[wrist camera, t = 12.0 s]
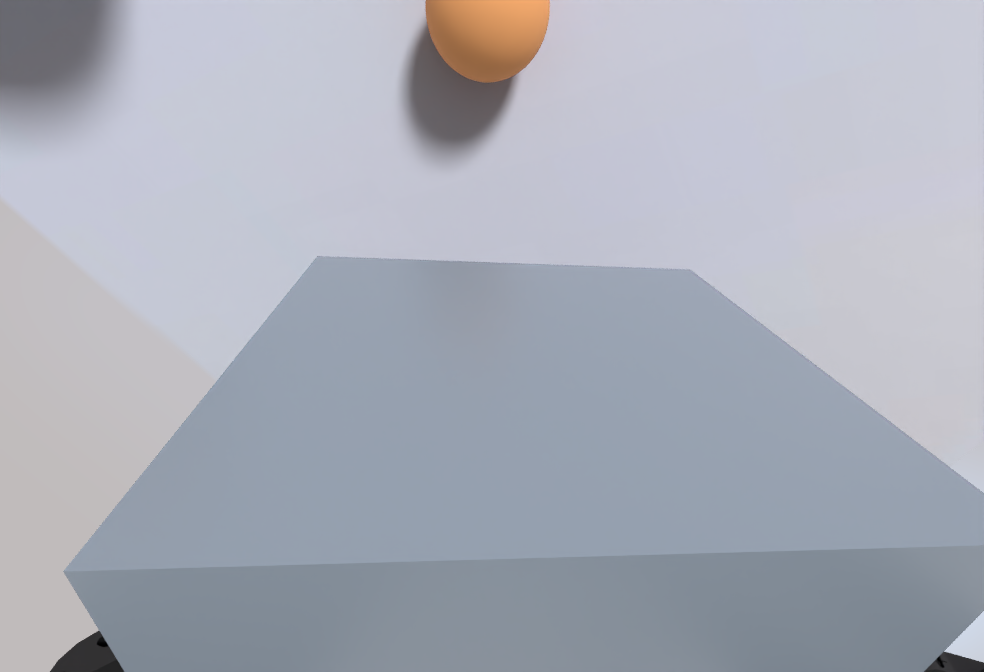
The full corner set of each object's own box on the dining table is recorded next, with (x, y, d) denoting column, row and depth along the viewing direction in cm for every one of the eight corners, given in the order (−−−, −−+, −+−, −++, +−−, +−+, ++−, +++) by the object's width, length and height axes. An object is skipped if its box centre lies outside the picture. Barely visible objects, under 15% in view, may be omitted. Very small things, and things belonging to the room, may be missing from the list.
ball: (559, -104, 16) (534, 12, 21) (420, -115, 16) (427, 7, 21) (566, 18, 16) (539, 109, 21) (422, 12, 15) (429, 106, 20)
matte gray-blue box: (618, 517, 18) (747, 849, 10) (350, 523, 17) (262, 898, 9) (690, 269, 13) (1049, 543, 5) (317, 256, 12) (62, 571, 4)
